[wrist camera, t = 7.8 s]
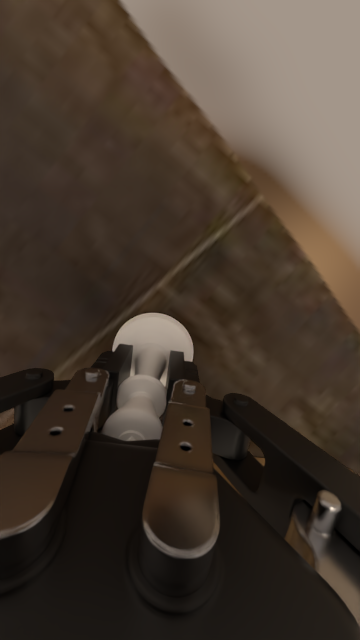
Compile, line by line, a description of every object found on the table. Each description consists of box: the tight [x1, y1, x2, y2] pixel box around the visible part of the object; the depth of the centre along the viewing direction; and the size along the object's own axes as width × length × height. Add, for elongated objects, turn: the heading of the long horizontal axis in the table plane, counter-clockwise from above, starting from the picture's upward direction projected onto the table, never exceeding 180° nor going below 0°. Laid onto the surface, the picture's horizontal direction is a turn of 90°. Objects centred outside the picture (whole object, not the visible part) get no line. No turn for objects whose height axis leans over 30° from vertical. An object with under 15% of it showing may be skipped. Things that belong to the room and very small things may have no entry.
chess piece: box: [102, 313, 194, 441], centre depth 11 cm, size 5×5×10 cm
